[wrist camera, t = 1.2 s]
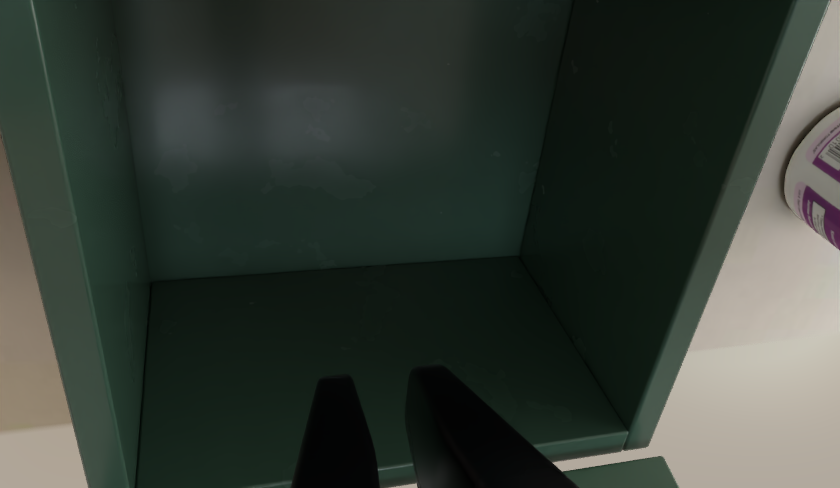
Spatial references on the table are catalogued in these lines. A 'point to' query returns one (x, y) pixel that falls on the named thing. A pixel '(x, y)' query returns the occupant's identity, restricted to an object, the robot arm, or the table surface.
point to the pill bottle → (817, 179)
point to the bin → (379, 211)
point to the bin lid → (625, 475)
